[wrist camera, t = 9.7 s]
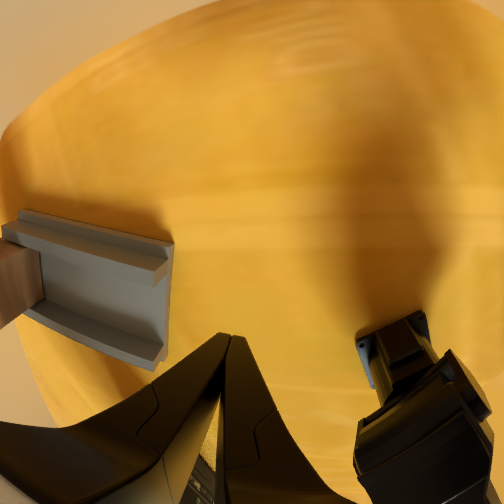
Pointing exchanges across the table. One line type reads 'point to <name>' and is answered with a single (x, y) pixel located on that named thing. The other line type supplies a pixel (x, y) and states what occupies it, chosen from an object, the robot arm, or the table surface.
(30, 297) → the block
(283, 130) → the table surface
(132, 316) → the chute
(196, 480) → the graphics card box
